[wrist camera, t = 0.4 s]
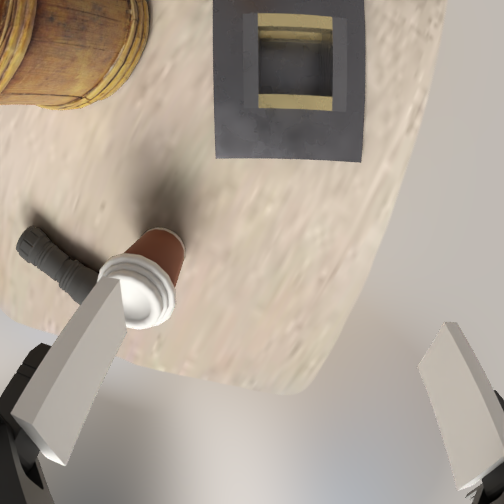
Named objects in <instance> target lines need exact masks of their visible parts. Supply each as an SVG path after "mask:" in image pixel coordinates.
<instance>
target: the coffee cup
mask: <svg viewBox="0 0 504 504" xmlns="http://www.w3.org/2000/svg"><path fill="white" fill-rule="evenodd" d="M184 258H185V246H184V244H183V242H182V239H181V238H180V237H179V236H178V235H177V234H176V233H175V232H173V231H171V230H169V229H167V228H160V227H156V228H152V229H149V230H148V231H147V232H146V233H145V234H143V235H142V237H141V238H140V239H138V240H137V241H136V242H135V243H134V244H133V245H132V246H131V247H130V248H129V249H128V250H127V251H126V252H124V253H123V254H120V255H116V256H113V257H111V258H110V259H109V260H108V261H107V262H106V263H105V264H104V265H103V266H102V267H101V268H100V271H99V275H98V279H97V282H98V281H99V280H100V278H101V277H102V276H105V277H110V278H115V279H120V285H121V294H122V302H123V309H124V316H125V323H126V327H128V328H133V329H145V328H150V327H151V326H157V325H160V324H161V323H163V322H164V321H166V320H167V319H169V318H170V316H171V314H172V312H173V310H174V308H175V305H176V289H175V286H176V283H177V280H178V276H179V273H180V270H181V267H182V264H183V261H184Z"/></svg>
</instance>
